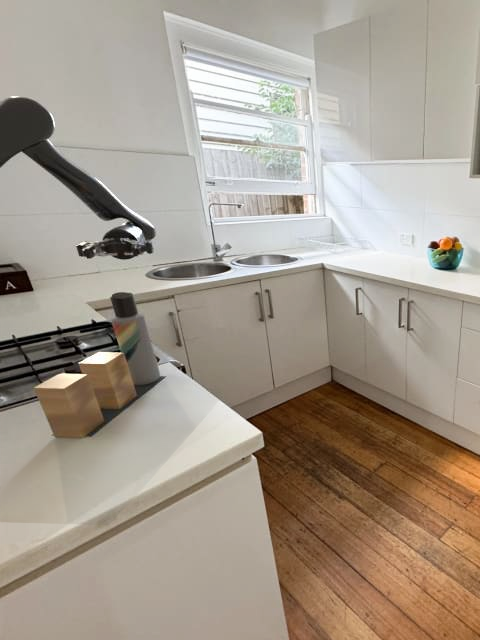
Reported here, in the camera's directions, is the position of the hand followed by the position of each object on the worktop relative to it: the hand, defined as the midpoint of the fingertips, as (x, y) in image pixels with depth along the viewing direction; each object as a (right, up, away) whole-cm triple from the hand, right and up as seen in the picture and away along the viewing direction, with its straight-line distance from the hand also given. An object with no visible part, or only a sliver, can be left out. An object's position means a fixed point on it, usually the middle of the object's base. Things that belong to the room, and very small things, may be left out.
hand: (111, 252), depth 85 cm
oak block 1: (+7, -36, -16) cm, 40 cm away
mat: (+7, -33, -8) cm, 34 cm away
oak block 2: (+7, -32, -8) cm, 34 cm away
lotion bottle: (+7, -29, +1) cm, 29 cm away
